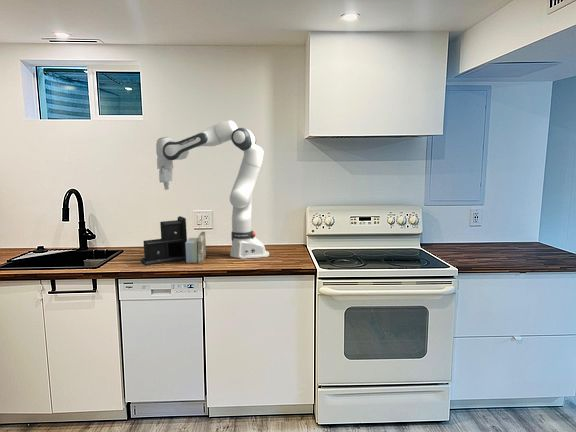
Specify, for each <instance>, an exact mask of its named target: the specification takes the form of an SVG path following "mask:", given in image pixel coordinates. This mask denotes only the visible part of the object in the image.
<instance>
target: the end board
mask: <svg viewBox="0 0 576 432" xmlns="http://www.w3.org/2000/svg"><path fill="white" fill-rule="evenodd" d="M197 238H198V264H203V263H204V261H205V258H206V257H207V247H206V231H201V232H200V233H199V234H198V236H197Z"/></svg>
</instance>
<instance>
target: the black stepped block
mask: <svg viewBox="0 0 576 432" xmlns="http://www.w3.org/2000/svg"><path fill="white" fill-rule="evenodd" d="M159 223H160V238H156V239H148V240H143V253H144V254H143V256H144V257H142V258H141V259H140V262H141V263H142V264H143V266H145V267H146V266H151V265H158V264H159V265H161V264H167V263H174V262H180V261H186V244H185V243H186V242H187V240H188V236H187V235H188V233H187V231H188V230H187V219H186V217H184V216H181V215H179V216H177V219H176V220H165V221H163V220H162V221H160V222H159Z"/></svg>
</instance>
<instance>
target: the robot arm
mask: <svg viewBox="0 0 576 432" xmlns="http://www.w3.org/2000/svg"><path fill="white" fill-rule="evenodd" d="M229 141H231V142H232V144H233V145H234V146H235V147H237V148H238V149H239V150H240V151H242V152H243V157H242V159H241V163H240V166H239V170H238V173H237V176H236V178H235V181H234V184H233V186H232V189H231V192H230V194H229V202H230V205H232V212H231V213H232V215H231V235H230V236H231V237H230V238H231V248H230V254H229V256H230V257H231V258H237V259H241V260H242V259H245V260H247V259H256V258H257V259H258V258H267V257H269V256H270V252H269V251H268V250H266V247H265V244H264V243H263V241H261V240H259V239H258V238H257V237H256V236H257V233H256V232H255V230H252V212H253V211H252V208H253V207H252V206H253V190H254V188H255V186H256V183H257V180H258V177H259V175H260V170H261V167H262V165H263V159H264V154H265V153H264V149H263V148H262V147H261V146H259V145H257V138H256V135H255V133H254V132H253V131H251V130H249V129H247V128H244V127H238V125H237V124H236V123H235V122H234V121H233V120H231V119H230V120H224V121H220V122H217V123H216V124H213V125H211V126H209V127H207V128H206V129H204V130H202V131H200V132H198V133H196V134H194V135H192V136H188V137H186V138H184V139H181V140H179V141H176V140H174V139H172V138H171V137H168V136H164V137H160V138H157V140H156V144H155V149H156V150H155V151H156V167H157V170H158V172H159V173H158V177H159V178H158V179H159V183H163V186H164V187H163V189H164V190H165V191H166V190H167V191H168V190H169V186H170V182H172V181H173V169H174V161H180V160H181V161H182V160H184V159H187V157H188V156H189V152H190V150H192V149H196V148H200V147H214V146H215V147H216V146H218V145H222V144H224V143H226V142H229Z"/></svg>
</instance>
